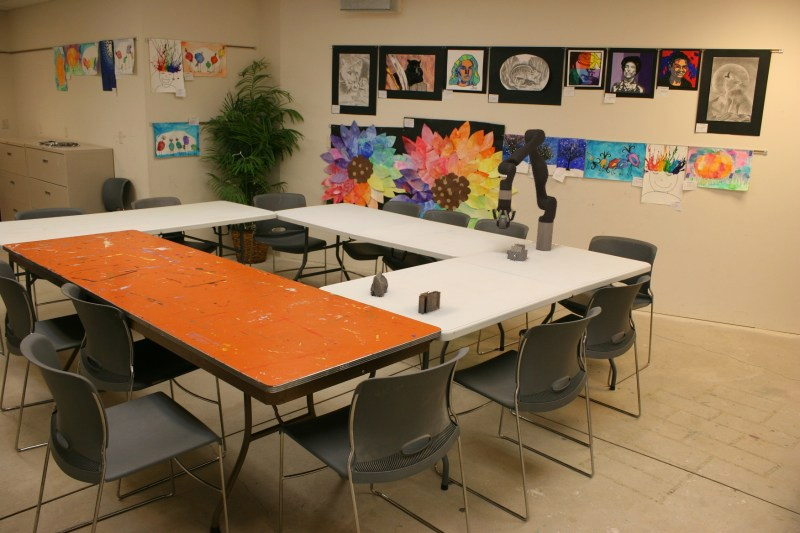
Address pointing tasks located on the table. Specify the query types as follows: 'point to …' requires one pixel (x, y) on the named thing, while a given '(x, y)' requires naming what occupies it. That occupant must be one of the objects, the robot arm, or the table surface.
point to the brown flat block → (429, 302)
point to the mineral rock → (379, 285)
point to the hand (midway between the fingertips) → (502, 227)
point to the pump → (502, 222)
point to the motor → (517, 252)
